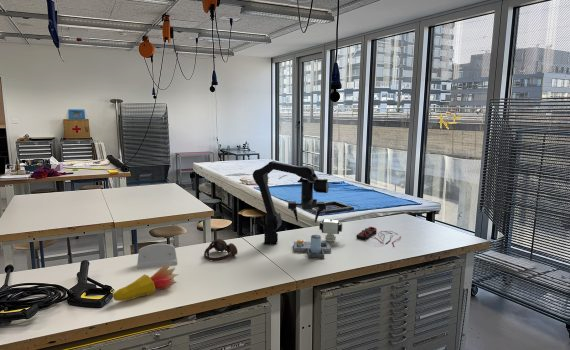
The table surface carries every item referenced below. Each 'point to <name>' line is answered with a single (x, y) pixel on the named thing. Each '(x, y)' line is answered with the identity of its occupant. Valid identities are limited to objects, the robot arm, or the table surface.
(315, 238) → the cartridge
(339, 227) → the pneumatic valve
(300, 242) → the plunger
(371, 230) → the multimeter with leads
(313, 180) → the robot arm
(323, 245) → the housing
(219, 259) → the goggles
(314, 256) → the tray
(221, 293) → the table surface
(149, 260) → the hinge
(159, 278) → the torch
